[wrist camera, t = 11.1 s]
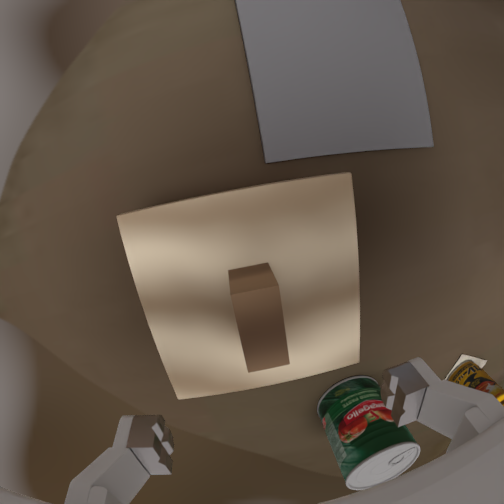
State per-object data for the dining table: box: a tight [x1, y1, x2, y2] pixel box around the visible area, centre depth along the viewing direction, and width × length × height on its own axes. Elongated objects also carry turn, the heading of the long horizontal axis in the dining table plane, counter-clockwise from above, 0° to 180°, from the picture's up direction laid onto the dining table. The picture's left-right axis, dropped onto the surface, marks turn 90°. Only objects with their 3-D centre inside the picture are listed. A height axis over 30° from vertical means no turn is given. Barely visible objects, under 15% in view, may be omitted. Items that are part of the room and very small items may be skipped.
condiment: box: [445, 354, 504, 406], centre depth 29 cm, size 7×8×12 cm
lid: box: [116, 172, 360, 399], centre depth 18 cm, size 14×14×4 cm
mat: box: [235, 0, 434, 163], centre depth 21 cm, size 16×16×1 cm
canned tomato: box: [317, 376, 420, 490], centre depth 26 cm, size 8×8×11 cm
